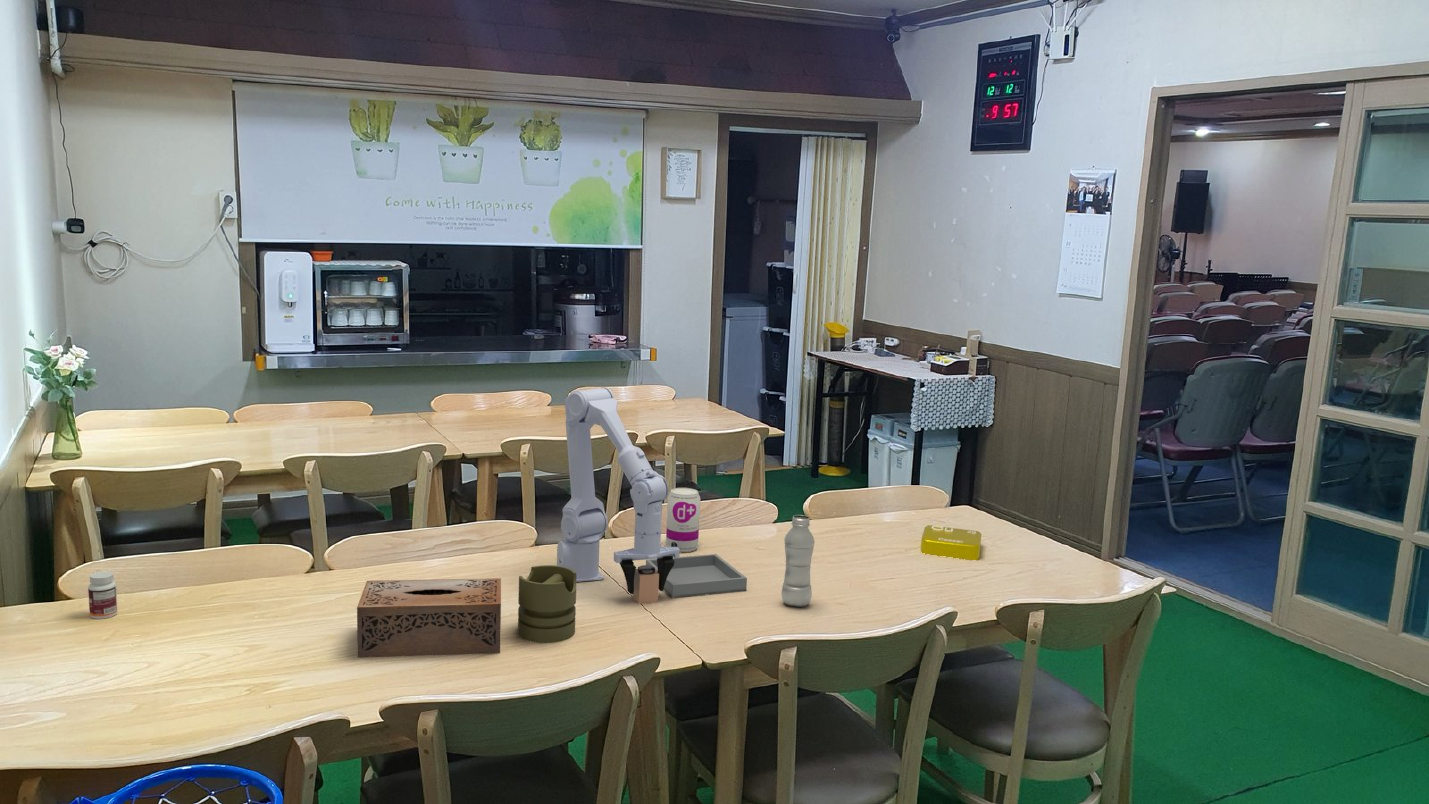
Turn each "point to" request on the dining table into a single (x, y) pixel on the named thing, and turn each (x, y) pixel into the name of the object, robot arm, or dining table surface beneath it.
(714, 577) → the tray
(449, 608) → the tissue box cover
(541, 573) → the piston
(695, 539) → the supplement can
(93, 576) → the pill bottle
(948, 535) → the element tile
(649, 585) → the shaker
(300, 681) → the dining table surface
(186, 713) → the dining table surface
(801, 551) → the plastic bottle
